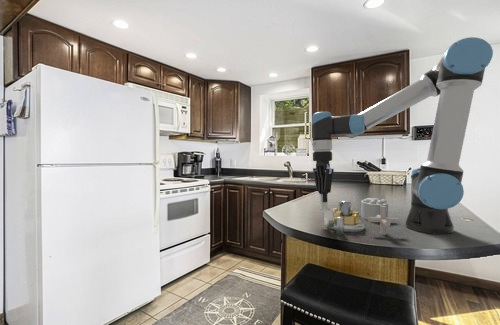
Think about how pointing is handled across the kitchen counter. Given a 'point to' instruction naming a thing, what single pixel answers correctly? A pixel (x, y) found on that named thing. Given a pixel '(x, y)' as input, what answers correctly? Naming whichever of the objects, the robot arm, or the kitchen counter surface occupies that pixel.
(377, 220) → the pipe connector
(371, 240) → the kitchen counter surface
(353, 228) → the cap flange
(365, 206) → the lumpy-topped squat cylinder
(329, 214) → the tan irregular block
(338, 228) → the stop pin
